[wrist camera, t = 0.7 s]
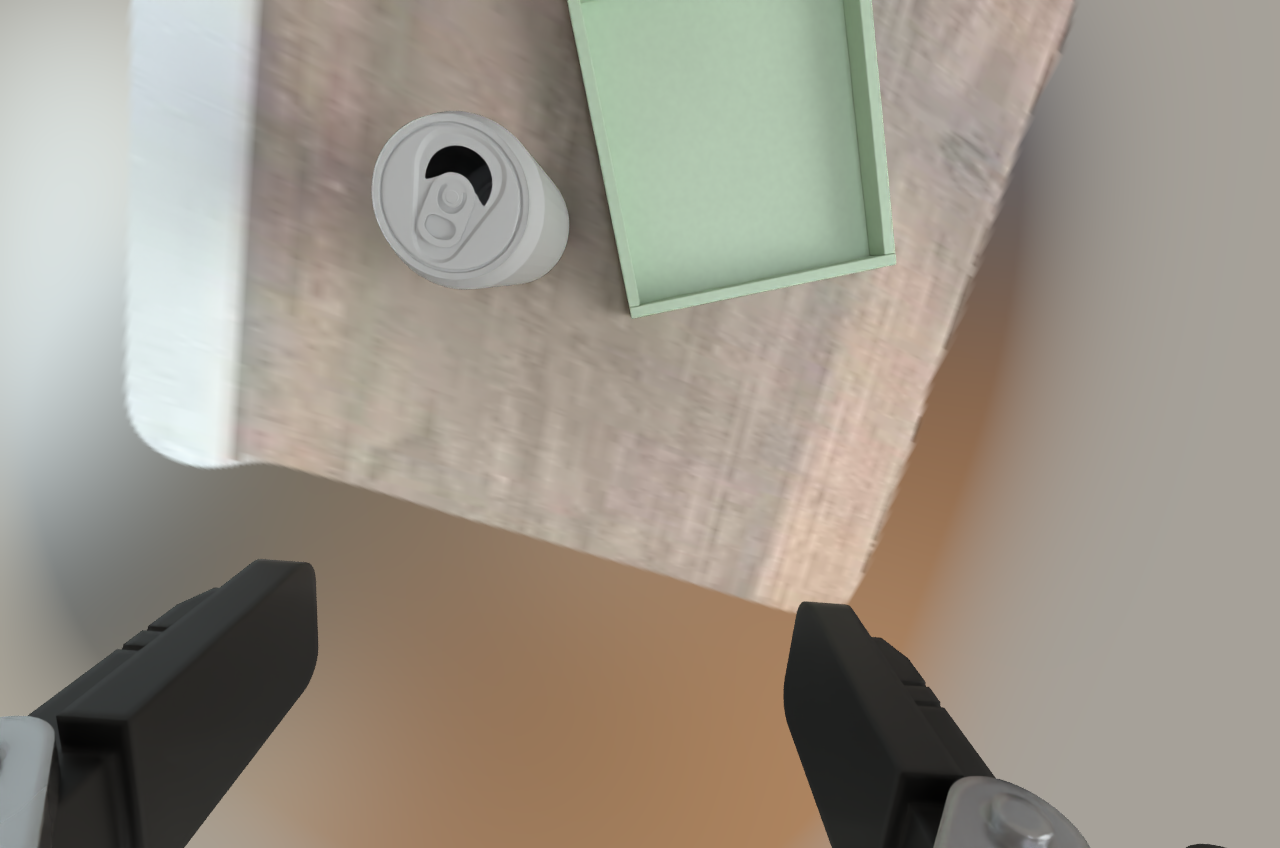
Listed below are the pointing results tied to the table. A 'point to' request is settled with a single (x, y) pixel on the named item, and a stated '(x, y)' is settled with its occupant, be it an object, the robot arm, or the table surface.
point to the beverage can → (467, 203)
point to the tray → (736, 143)
